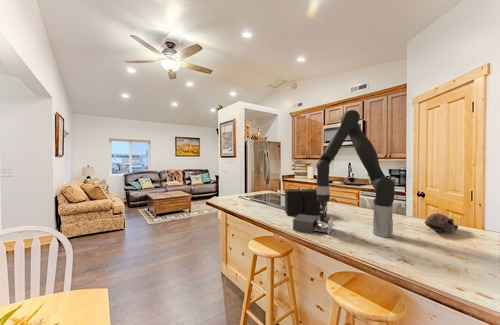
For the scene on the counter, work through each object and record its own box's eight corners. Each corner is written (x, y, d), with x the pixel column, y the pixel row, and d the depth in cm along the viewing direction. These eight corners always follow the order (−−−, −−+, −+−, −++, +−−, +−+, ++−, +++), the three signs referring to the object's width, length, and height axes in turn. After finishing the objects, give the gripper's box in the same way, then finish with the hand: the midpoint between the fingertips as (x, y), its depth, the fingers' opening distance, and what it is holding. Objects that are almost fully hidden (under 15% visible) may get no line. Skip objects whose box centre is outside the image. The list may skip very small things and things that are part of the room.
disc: (328, 227, 132) (328, 223, 132) (327, 230, 127) (327, 226, 127) (318, 225, 135) (318, 221, 135) (316, 228, 130) (316, 224, 130)
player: (317, 226, 140) (317, 216, 139) (312, 233, 127) (312, 222, 127) (299, 223, 145) (299, 213, 145) (293, 229, 133) (293, 219, 133)
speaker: (315, 211, 174) (315, 188, 174) (320, 215, 164) (320, 191, 163) (284, 211, 174) (284, 189, 174) (287, 215, 164) (287, 191, 163)
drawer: (332, 227, 135) (332, 217, 135) (329, 234, 123) (329, 223, 123) (317, 225, 139) (317, 215, 139) (313, 231, 128) (313, 221, 127)
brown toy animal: (444, 239, 116) (445, 221, 115) (417, 232, 126) (418, 215, 126) (461, 230, 129) (461, 214, 128) (435, 225, 139) (435, 209, 139)
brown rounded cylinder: (329, 223, 145) (329, 217, 145) (328, 224, 142) (328, 219, 142) (323, 222, 147) (323, 217, 147) (322, 223, 144) (322, 218, 143)
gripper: (327, 195, 122) (328, 224, 123) (331, 191, 135) (331, 217, 135) (314, 194, 126) (314, 222, 126) (318, 190, 138) (319, 215, 139)
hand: (323, 219), depth 131 cm, fingers open, 8 cm apart
